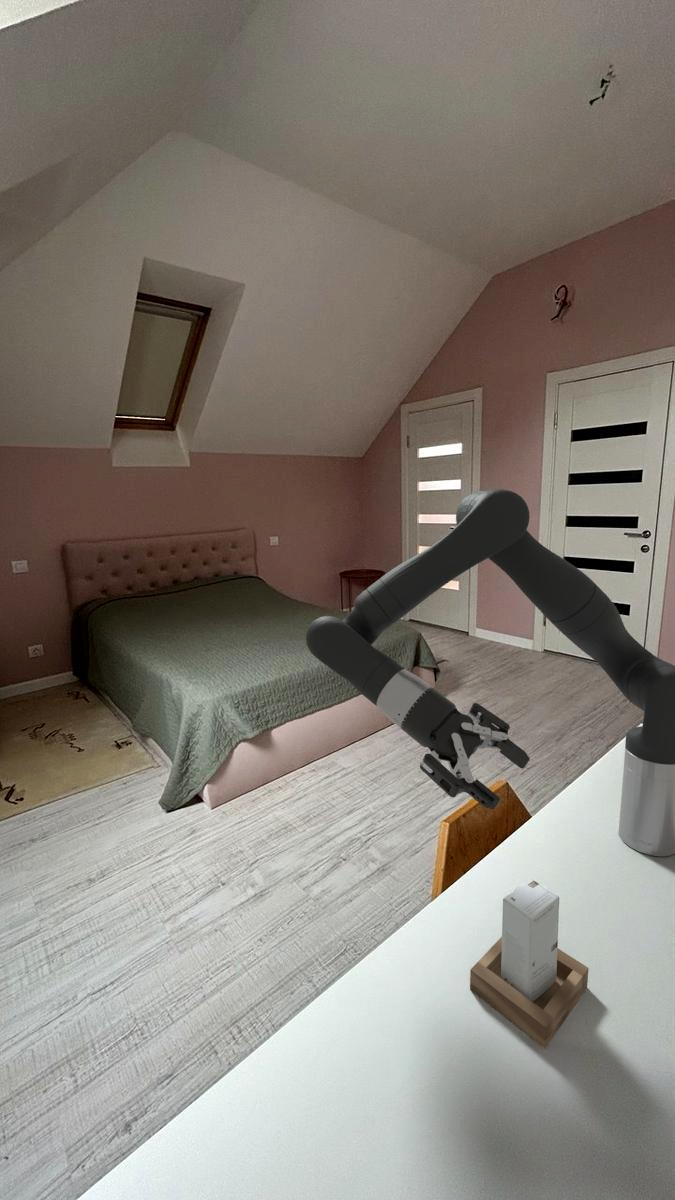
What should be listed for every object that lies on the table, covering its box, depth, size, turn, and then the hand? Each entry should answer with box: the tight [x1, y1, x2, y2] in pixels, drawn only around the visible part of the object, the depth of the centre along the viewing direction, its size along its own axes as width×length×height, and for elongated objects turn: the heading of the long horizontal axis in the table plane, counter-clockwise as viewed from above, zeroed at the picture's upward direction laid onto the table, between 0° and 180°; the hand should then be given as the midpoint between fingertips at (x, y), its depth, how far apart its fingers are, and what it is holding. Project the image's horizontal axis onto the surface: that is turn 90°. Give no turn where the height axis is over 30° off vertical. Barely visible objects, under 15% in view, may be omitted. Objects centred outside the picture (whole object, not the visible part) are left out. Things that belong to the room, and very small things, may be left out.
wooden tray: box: [469, 936, 590, 1050], centre depth 65 cm, size 11×10×3 cm
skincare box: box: [501, 879, 560, 1002], centre depth 65 cm, size 6×4×12 cm
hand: (512, 783), depth 68 cm, fingers open, 8 cm apart
